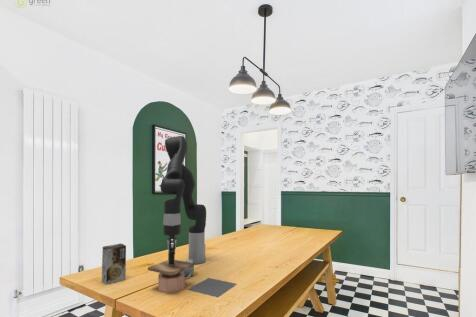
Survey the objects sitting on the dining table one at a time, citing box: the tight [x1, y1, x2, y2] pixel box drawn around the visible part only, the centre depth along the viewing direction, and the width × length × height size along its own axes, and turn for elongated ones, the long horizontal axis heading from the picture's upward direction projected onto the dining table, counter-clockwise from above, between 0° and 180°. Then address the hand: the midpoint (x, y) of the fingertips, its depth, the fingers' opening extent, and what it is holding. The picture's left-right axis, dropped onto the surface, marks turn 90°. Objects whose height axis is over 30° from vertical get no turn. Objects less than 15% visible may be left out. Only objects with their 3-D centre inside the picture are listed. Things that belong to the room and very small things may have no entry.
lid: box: [147, 250, 195, 276], centre depth 119 cm, size 14×14×7 cm
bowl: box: [157, 271, 185, 294], centre depth 119 cm, size 11×11×6 cm
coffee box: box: [101, 243, 127, 285], centre depth 129 cm, size 9×6×16 cm
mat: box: [186, 277, 238, 298], centre depth 119 cm, size 16×16×1 cm
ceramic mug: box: [182, 259, 195, 281], centre depth 133 cm, size 11×8×8 cm
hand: (171, 262), depth 119 cm, fingers closed on lid, 2 cm apart
